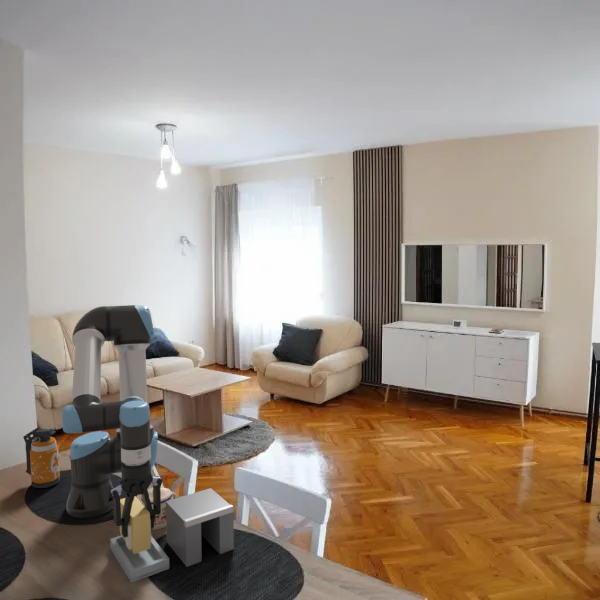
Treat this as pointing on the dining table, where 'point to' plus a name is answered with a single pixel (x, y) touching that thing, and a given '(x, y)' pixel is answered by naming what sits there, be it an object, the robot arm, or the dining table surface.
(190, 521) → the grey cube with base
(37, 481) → the canister
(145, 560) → the tray
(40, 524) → the dining table surface
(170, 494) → the teacup with lid
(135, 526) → the yellow cuboid
